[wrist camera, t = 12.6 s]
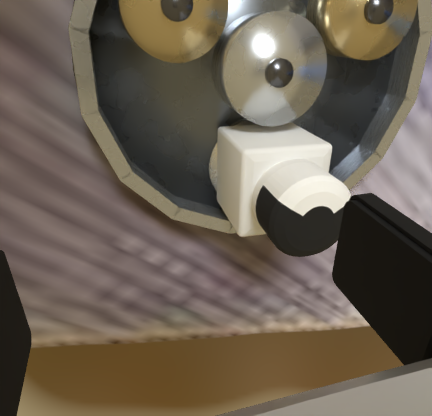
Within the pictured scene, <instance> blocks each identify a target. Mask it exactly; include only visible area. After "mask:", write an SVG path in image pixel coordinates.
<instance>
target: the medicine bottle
mask: <svg viewBox="0 0 432 416" xmlns="http://www.w3.org/2000/svg"><path fill="white" fill-rule="evenodd" d="M331 154H332V145H331V144H330V143H328V142H326V141H324V140H322V139H321V138H319V137H317V136H315V135H313V134H312V133H310V132H308V131H306V130H304V129H303V128H301V127H299V126H297V125H295V124H293V123H287V124H284V125H280V126H261V125H241V126H223V127H219V128H218V140H217V201H218V203H219V204H220V206H221V208H222V209H223V211H224V213H225V214H226V216H227V217H228V219H229V221H230V222H231V224H232V226H233V227H234V229H235V231H236V232H237V234H238V235H239V236H240V237H247V236H254V235H262V234H267V235H268V237H269V238H270V239H271V241H272V242H273V243H274V245H275V246H276V247H277V248H278V249H279V250H280V251H282V252H283V253H285V254H288V255H291V256H297V257H302V256H310V255H314V254H317V253H320V252H322V251H324V250H326V249H328V248H329V247H330V246H332V245H333V244H334V243H335V242H337V240H338V238H339V232H340V227H341V221H342V216H343V210H344V205H345V203H346V202H347V201H349V199H350V197H351V194H350V192H349V190H348V188H347V187H346V186H345V185H344V184H343V183H342V182H341V181H340V180H338V179H337V178H335V177H334V176H332V175H331V174H329V167H330V160H331Z"/></svg>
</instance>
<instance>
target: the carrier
mask: <svg viewBox="0 0 432 416" xmlns="http://www.w3.org/2000/svg"><path fill="white" fill-rule="evenodd" d="M68 30H69V37H70V43H71V50H72V60H73V71H74V75H75V80H76V84H77V90H78V96H79V103H80V110H81V115H82V117H83V119H84V121H85V122H86V124H87V126H88V127H89V129H90V131H91V132H92V134H93V136H94V137H95V139H96V141H97V142H98V144H99V146H100V148H101V149H102V151H103V153H104V154H105V156H106V158H107V159H108V161H109V163H110V164H111V166H112V168H113V169H114V171H115V173H116V174H117V176H118V178H119V179H120V181H121V182H123V183H124V184H125V185H127V186H128V187H129V188H131V189H132V190H133V191H135V192H136V193H137V194H139V195H140V196H141V197H143V198H144V199H145V200H147V201H148V202H149V203H151V204H152V205H154V206H155V207H156V208H158V209H159V210H160V211H162V212H163V213H164V214H166V215H167V216H168V217H170V218H171V219H173V220H177V221H181V222H185V223H189V224H193V225H197V226H201V227H205V228H209V229H213V230H217V231H221V232H225V233H230V234H231V233H237V232H236V231H235V229H234V227H233V226H232V224H231V222H230V221H229V219H228V217H227V216H226V214H225V213H224V211H223V209H222V208H221V206H220V204H219V203H218V201H217V140H218V128H219V127H223V126H241V125H261V126H280V125H284V124H287V123H293V124H295V125H297V126H299V127H301V128H303V129H304V130H306V131H308V132H310V133H312V134H313V135H315V136H317V137H319V138H321V139H322V140H324V141H326V142H328V143H330V144H331V145H332V154H331V160H330V167H329V174H331V175H332V176H334V177H335V178H337V179H338V180H340V181H341V182H342V183H343V184H344V185H345V186H346V187H347V188H348V190H350V189H351V188H352V187H353V186H354V185H355V184H356V183H357V182H358V181H359V180H360V179H362V178H363V177H364V176H365V175H366V174H367V173H368V172H369V171H370V170H371V169H372V168H373V167H374V166H375V165H376V164H377V163H378V162H379V161H380V160H381V159H382V158H383V157H384V155H385V153H386V151H387V150H388V148H389V146H390V145H391V143H392V141H393V139H394V138H395V136H396V134H397V132H398V131H399V129H400V127H401V125H402V124H403V122H404V120H405V119H406V117H407V115H408V113H409V112H410V110H411V108H412V106H413V105H414V103H415V101H416V98H417V94H418V90H419V86H420V82H421V78H422V74H423V70H424V66H425V62H426V58H427V53H428V49H429V45H430V41H431V37H432V7H431V0H74V5H73V10H72V15H71V19H70V23H69V27H68Z"/></svg>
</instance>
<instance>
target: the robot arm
mask: <svg viewBox="0 0 432 416" xmlns="http://www.w3.org/2000/svg"><path fill="white" fill-rule="evenodd" d="M332 277H333V281H334V283H335V284H336V286H337V287H338V288H339V289H340V290H341V292H342V293H343V294H344V295H345V296H346V297H347V299H348V300H349V301H350V302H351V303H352V304H353V306H354V307H355V308H356V309H357V310H358V311H359V313H360V314H361V315H362V316H363V317H364V319H365V320H366V321H367V322H368V323H369V324H370V326H371V327H372V328H373V329H374V330H375V331H376V333H377V334H378V335H379V336H380V337H381V338H382V340H383V341H384V342H385V343H386V344H387V345H388V347H389V348H390V349H391V350H392V351H393V353H394V354H395V355H396V356H397V357H398V358H399V360H400V361H401V362H402V363H403V364H404V366H401V367H397V368H393V369H389V370H385V371H382V372H377V373H374V374H370V375H366V376H362V377H358V378H355V379H351V380H348V381H344V382H340V383H336V384H332V385H329V386H325V387H321V388H317V389H314V390H310V391H306V392H302V393H298V394H295V395H291V396H288V397H284V398H280V399H276V400H273V401H269V402H265V403H262V404H258V405H254V406H250V407H246V408H243V409H239V410H235V411H231V412H228V413H224V414H221V415H217V416H432V233H430V232H429V231H427V230H426V229H424V228H423V227H422V226H420V225H419V224H417V223H416V222H414V221H413V220H411V219H410V218H408V217H407V216H405V215H404V214H402V213H401V212H399V211H398V210H396V209H395V208H393V207H392V206H391V205H389V204H388V203H386V202H385V201H383V200H382V199H380V198H379V197H377V196H376V195H374V194H372V193H367V194H360V195H353V196H351V197H350V199H349V201H347V202H346V203H345V205H344V210H343V216H342V221H341V227H340V232H339V238H338V244H337V249H336V255H335V260H334V266H333V271H332ZM30 348H31V331H30V328H29V325H28V322H27V319H26V316H25V313H24V310H23V307H22V304H21V301H20V298H19V295H18V292H17V289H16V286H15V283H14V280H13V277H12V274H11V271H10V268H9V265H8V262H7V259H6V256H5V254H4V252H3V251H2V250H0V416H17V411H18V406H19V401H20V396H21V391H22V387H23V382H24V377H25V372H26V367H27V362H28V358H29V353H30Z"/></svg>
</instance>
